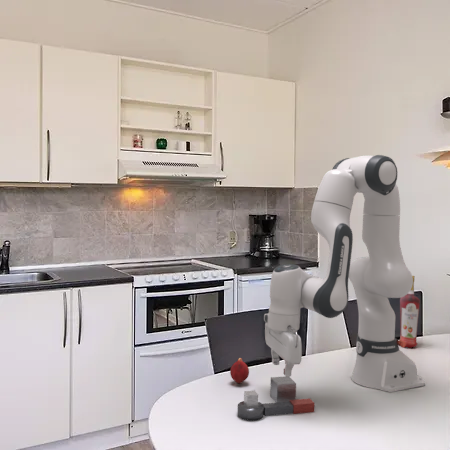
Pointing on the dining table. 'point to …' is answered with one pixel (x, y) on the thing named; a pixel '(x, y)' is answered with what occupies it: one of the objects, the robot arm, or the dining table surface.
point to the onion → (239, 371)
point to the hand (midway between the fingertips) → (281, 369)
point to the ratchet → (270, 407)
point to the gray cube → (282, 389)
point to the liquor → (409, 318)
